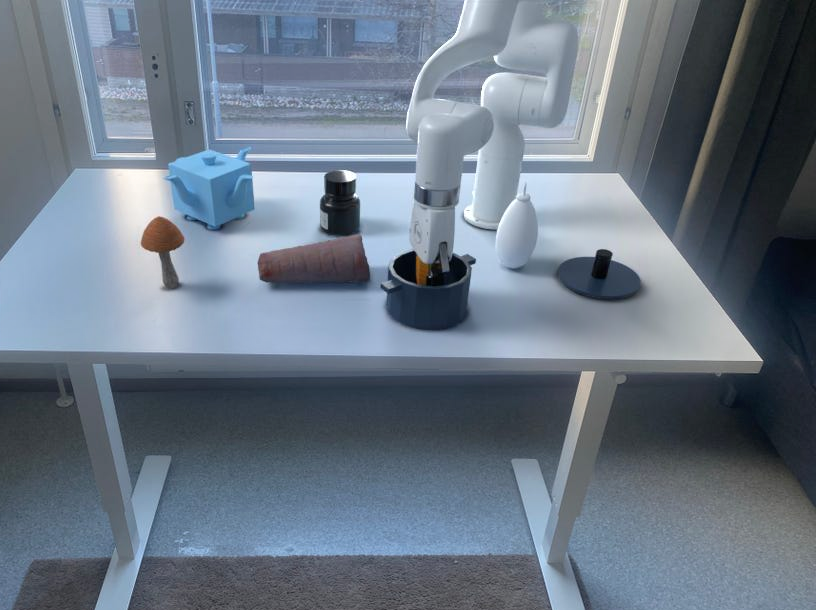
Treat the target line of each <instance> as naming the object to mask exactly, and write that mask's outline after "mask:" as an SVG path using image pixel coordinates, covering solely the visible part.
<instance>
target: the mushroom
mask: <svg viewBox="0 0 816 610" xmlns="http://www.w3.org/2000/svg"><path fill="white" fill-rule="evenodd" d="M185 239H186V238H185V235H183V233H182V231H181V230H180V228H179V227H178V226H177V225H176V224H175V223H173V222H172V221H171V220H169V219H168V218H166V217H163V216H160V215H158V216H156V217H154V218H153V219H152V220H151V221H150V222H149V223H148V224H147V226H146V227H145V229H144V231H143V232H142V236H141V240H140V246H141V247H142V248H143V249H144V250H146V251H149V252H150V253H156V254H158V257H159V260H160V265H161V277H162V284H163V285H164V287H165V288H166V289H169V290H170V289H171V290H172V289H175V288H177V287H178V286H179V280H180V277H179V275H178V273H177V271H176V268H175V266H174V264H173V261H172V257H171V253H170V252H172V251H176V250H177V249H179V248H180V247H182V245H184V243H185V241H186V240H185Z"/></svg>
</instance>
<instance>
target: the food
mask: <svg viewBox="0 0 816 610" xmlns="http://www.w3.org/2000/svg"><path fill="white" fill-rule="evenodd" d="M257 271H258V278H259V281H261V282H264V283H267V284H268V283H269V284H277V285H279V284H309V283H312V284H313V283H314V284H315V283H316V284H317V283H354V282H366V281H370V280H371V271H370V264H369V262H368V257H367V256H366V251H365V247H364V243H363V237H362V234H361V233H357V234H351V235H347V236H343V237H338V238H334V239H331V240H329V239H328V240H324V241H318V242H313V243H309V244H304V245H297V246H293V247H286V248H282V249H274V250H271V251H266V252H265V251H264V252H261V253H260V254H259V256H258V259H257Z"/></svg>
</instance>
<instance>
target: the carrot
mask: <svg viewBox="0 0 816 610" xmlns="http://www.w3.org/2000/svg"><path fill="white" fill-rule="evenodd" d="M435 259H439V258H438V257H436V258H435ZM438 267H439V264H433V270H434V269H435V268H438ZM426 276H428V264H425V263H423V261H422V260H421V259H420V258H419V256H418V255H417V262H416V277H417V285H424V286H425V283H426Z"/></svg>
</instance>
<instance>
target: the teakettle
mask: <svg viewBox="0 0 816 610" xmlns="http://www.w3.org/2000/svg"><path fill="white" fill-rule="evenodd" d="M251 150H252V146H246V147H244V148H242V149H240V151H238V152H237V153H238V154H237V155H236V158H235V157H233V156H230V155H227V154H224V153H221V152H218V151H216V150H212V149H210V148H209V149H206V150H203V151H201V152H197V153H195V154H192V155H189V156H187V157H186V156H182V157H178V158H177V159H176V160H175V161H172V162H169V163H168V164H167V167H168V172H169V175H167V176H164V177H163V180H165V181H169V182H170V187H171V194H172V201H173V208H174V210H176V211H178V212H180V213H183V214H185V215H187V216H186V220H188V221H196V220H198V221H200V222H203V223H206V224H207V229H209V230H218V229H220V228H221V225H223V224H225V223H228V222H229V221H232V220H234V219H235V220H241V219H243V218H244V217H245V215H246V214H247V213H250V212H253V211H254V210H255V196H254V195H255V193H254V182H253V179H254V176H253V169H252V164H251V163H250V162H247V161H246V159H247V156H248V153H250V151H251Z"/></svg>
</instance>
